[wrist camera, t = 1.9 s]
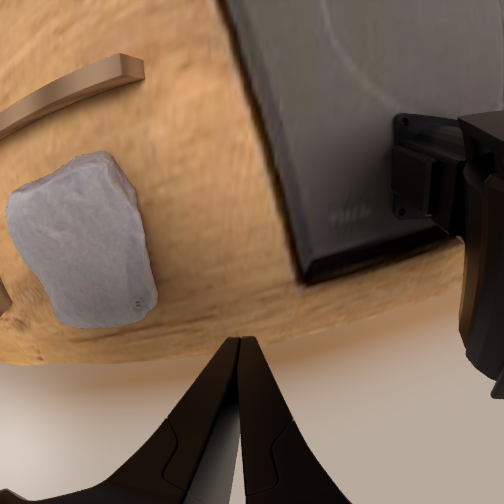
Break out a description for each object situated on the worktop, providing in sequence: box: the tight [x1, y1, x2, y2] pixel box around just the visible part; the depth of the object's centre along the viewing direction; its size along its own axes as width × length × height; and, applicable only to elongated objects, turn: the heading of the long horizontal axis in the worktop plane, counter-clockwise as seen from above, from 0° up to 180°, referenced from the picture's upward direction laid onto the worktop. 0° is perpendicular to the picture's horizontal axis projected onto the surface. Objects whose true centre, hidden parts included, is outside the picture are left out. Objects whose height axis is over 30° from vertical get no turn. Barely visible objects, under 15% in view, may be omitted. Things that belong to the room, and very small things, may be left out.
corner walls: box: [0, 53, 145, 317], centre depth 16 cm, size 22×16×3 cm
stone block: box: [5, 151, 158, 329], centre depth 17 cm, size 12×5×10 cm
